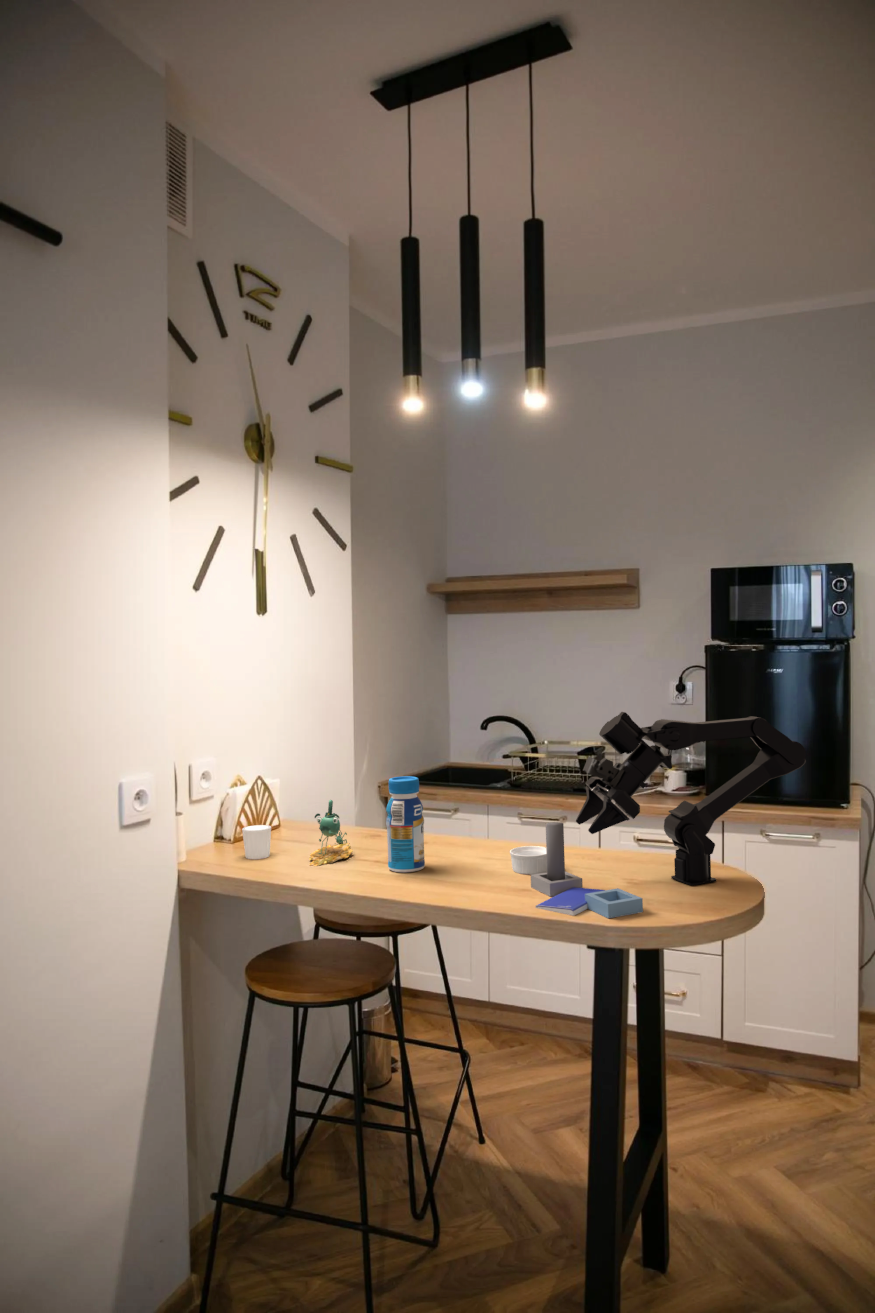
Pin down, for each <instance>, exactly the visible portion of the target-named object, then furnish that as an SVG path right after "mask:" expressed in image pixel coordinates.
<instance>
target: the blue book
mask: <svg viewBox="0 0 875 1313" xmlns="http://www.w3.org/2000/svg"><path fill="white" fill-rule="evenodd" d="M605 890H606V889H599V888H589V887H583V888H576V887H573V888H570V889H568V890H566V891H564V892H562V893H560V894H558V895H556V896H551V897H550V898H549V899H546V900H545V901H542V902H540V903H538V904H537V905H535V909H539V910H544V911H549V912H553V913H559V914H563V915H566V916H567V915H569V916H572V917H573V916H576V915H578V914H580V913H582V912H584V911H586V910H587V908H588V905H587V901H585V894H587V893H593V892H599V891H605Z"/></svg>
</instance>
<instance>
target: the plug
mask: <svg viewBox="0 0 875 1313" xmlns="http://www.w3.org/2000/svg"><path fill="white" fill-rule="evenodd" d="M564 832H565V830H564V823H563V822H559V821H556V822H555V821H550V822H546V823H545V844H546V845H545V847H546V852H547V879H548V880H550V881H557V880H563V879H565V871H566V869H565V868H566V867H565V866H566V864H565V863H566V862H565V860H566V859H565V835H564V834H565V833H564Z"/></svg>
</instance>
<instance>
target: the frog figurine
mask: <svg viewBox="0 0 875 1313" xmlns="http://www.w3.org/2000/svg"><path fill="white" fill-rule="evenodd" d="M333 804H334V801H333V800H332V799H329V800H328V807H327V808H328V809H327V812H325V814H324V817H320V816H321V813H316V814H315V815H314V819H316V821H317V824H319V826H318V829H319V830H320V833H321V836H320V838H318V841H319V843H320V842H321V848H317V850H314V851H313V852H311V853H310V855H309V860H310V861H312V862H310V863H309V866H313V867H318V866H321V865H328V864H329V865H330V864H333V863H335V862H337V861H339V860H345V859H348V858H349V857H350V855H351V854H352V853H353V852H354V850H353V848H352V846H351V845H350V843H348V841H347V838H346V839H345V838H344V837H345V835H346V836H347V835H348V833H347V832H346V831H345V832H344V834H343V832H342V831H341V822H340V820H339V819H340V816H339V814H337V813H335V812H333ZM323 836H325V838H324V839H323V840H322V838H323ZM329 837H333V838H334V839H335V844H333V845H331V844H328V840H329ZM343 838H344V839H343ZM325 840H326V842H325V846H323V845H324V841H325ZM327 844H328V845H327Z"/></svg>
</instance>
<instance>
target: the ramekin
mask: <svg viewBox="0 0 875 1313" xmlns="http://www.w3.org/2000/svg"><path fill="white" fill-rule="evenodd" d="M509 855H510V861H511V868H512V871H513V872H515V873H516V874H520V875H530V876H531V875H533V874H540V873H546V872H547V852H546V846H541V845H540V846H538V845H524V846H516V847H514V848H512V849H510V850H509Z"/></svg>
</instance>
